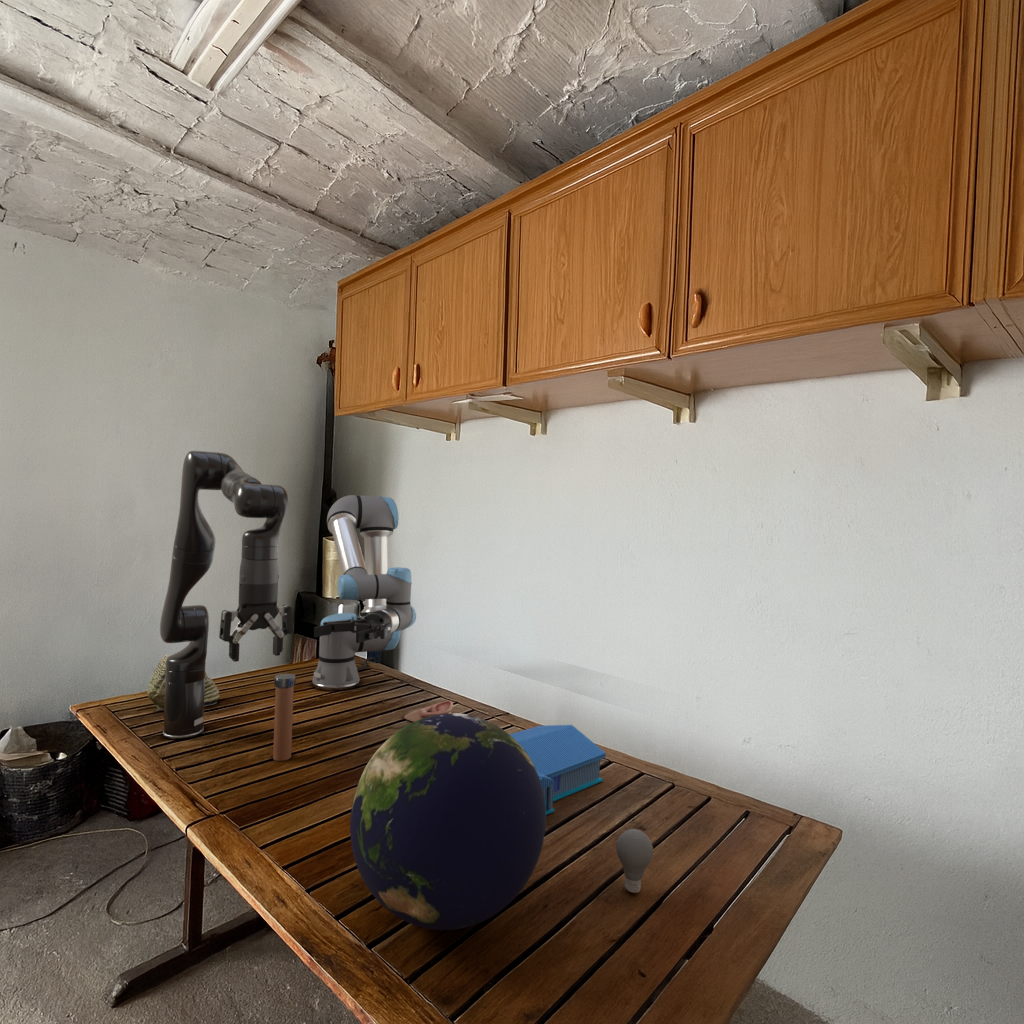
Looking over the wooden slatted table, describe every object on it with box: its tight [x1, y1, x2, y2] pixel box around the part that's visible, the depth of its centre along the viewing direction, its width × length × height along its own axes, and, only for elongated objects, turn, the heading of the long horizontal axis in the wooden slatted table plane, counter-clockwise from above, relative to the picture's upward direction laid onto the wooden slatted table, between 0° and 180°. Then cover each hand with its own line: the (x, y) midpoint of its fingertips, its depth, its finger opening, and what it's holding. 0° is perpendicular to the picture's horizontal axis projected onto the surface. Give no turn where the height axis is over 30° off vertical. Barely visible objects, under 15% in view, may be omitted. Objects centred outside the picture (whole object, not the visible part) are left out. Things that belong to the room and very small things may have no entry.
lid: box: [273, 673, 297, 688], centre depth 152 cm, size 5×5×2 cm
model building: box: [509, 724, 607, 816], centre depth 141 cm, size 39×24×10 cm, turn 132°
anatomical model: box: [403, 700, 454, 723], centre depth 184 cm, size 13×4×12 cm
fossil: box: [147, 654, 221, 712], centre depth 185 cm, size 9×18×15 cm, turn 132°
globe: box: [349, 712, 547, 931], centre depth 98 cm, size 30×30×30 cm
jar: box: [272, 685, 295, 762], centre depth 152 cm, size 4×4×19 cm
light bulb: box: [615, 828, 654, 894], centre depth 106 cm, size 6×6×10 cm
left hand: (256, 657), depth 132 cm, fingers open, 8 cm apart
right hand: (335, 635), depth 168 cm, fingers open, 13 cm apart
